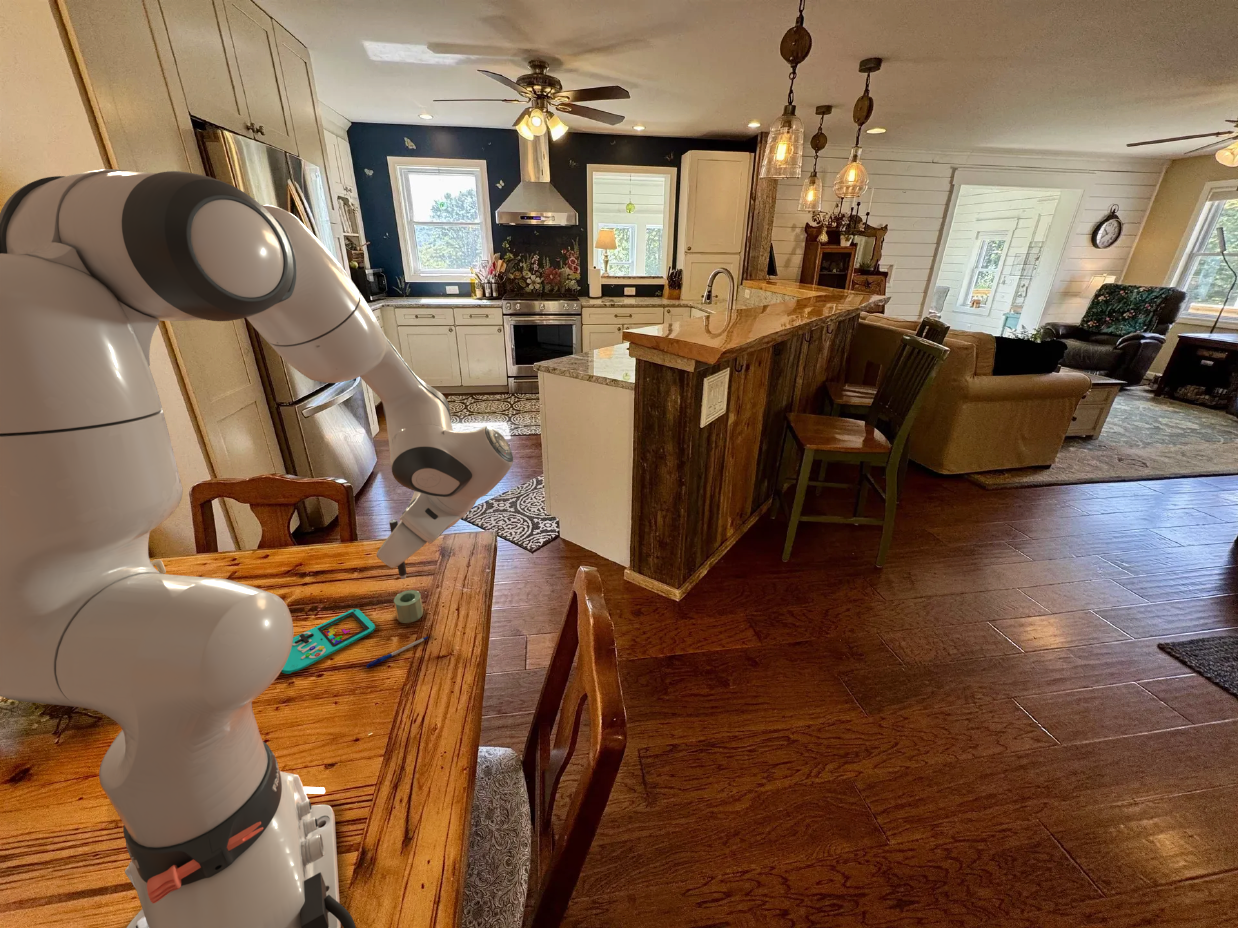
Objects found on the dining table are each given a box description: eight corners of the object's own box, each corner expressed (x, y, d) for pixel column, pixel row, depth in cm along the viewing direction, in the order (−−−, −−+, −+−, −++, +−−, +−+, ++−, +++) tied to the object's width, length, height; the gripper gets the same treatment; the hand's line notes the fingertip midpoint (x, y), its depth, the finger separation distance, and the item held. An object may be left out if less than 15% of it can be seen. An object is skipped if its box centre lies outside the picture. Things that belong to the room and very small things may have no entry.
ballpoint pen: (368, 670, 82) (367, 666, 81) (366, 668, 82) (365, 663, 82) (428, 639, 89) (428, 635, 88) (426, 637, 89) (426, 633, 89)
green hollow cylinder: (427, 617, 94) (424, 598, 92) (402, 628, 91) (399, 608, 89) (418, 605, 97) (414, 586, 95) (394, 615, 94) (390, 596, 93)
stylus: (408, 577, 91) (398, 521, 86) (401, 580, 90) (390, 523, 85) (405, 574, 92) (395, 518, 87) (398, 577, 91) (388, 520, 86)
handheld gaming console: (266, 648, 84) (356, 606, 95) (268, 653, 85) (357, 610, 95) (284, 674, 79) (377, 626, 90) (286, 679, 80) (378, 630, 90)
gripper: (449, 464, 93) (406, 507, 97) (399, 518, 74) (348, 568, 78) (475, 486, 94) (431, 528, 99) (432, 544, 75) (380, 593, 80)
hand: (394, 546), depth 88 cm, fingers closed on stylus, 1 cm apart
